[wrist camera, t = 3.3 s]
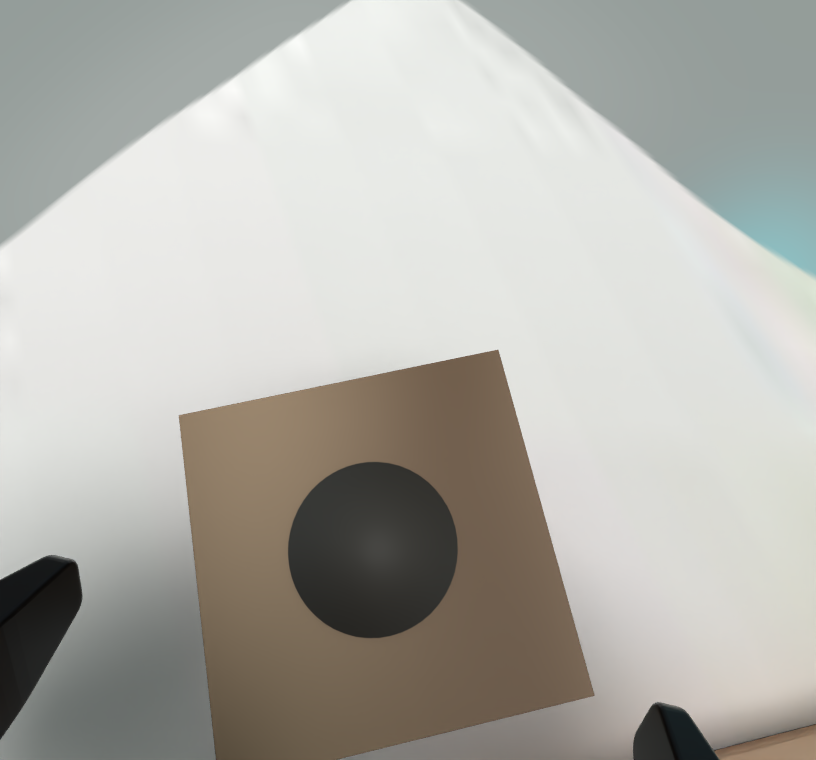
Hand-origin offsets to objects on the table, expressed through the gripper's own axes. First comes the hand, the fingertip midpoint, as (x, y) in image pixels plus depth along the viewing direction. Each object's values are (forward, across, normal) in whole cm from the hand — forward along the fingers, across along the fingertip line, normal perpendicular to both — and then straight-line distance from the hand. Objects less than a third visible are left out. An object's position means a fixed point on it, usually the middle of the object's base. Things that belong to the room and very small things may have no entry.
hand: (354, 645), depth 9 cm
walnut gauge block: (+7, 0, +5) cm, 9 cm away
